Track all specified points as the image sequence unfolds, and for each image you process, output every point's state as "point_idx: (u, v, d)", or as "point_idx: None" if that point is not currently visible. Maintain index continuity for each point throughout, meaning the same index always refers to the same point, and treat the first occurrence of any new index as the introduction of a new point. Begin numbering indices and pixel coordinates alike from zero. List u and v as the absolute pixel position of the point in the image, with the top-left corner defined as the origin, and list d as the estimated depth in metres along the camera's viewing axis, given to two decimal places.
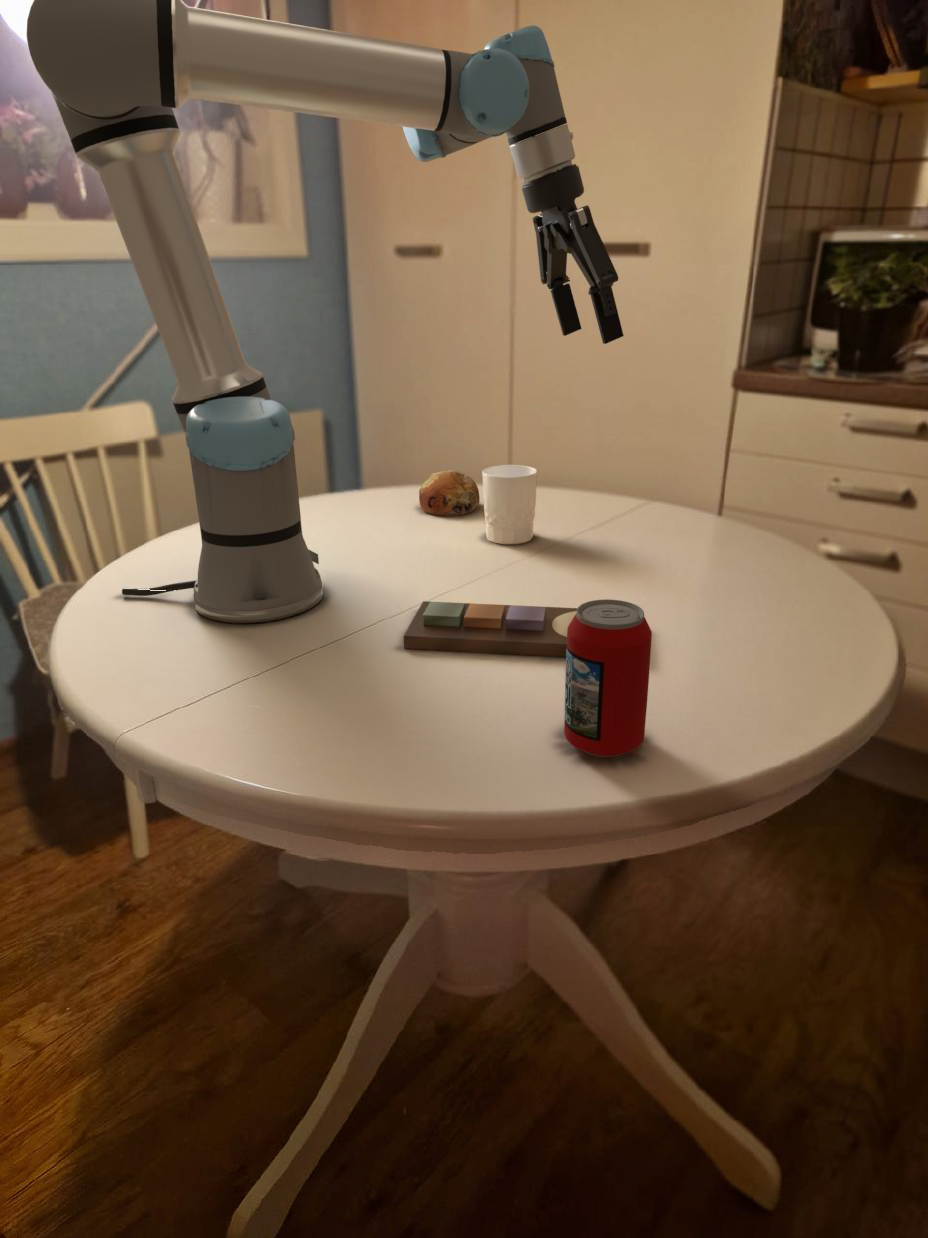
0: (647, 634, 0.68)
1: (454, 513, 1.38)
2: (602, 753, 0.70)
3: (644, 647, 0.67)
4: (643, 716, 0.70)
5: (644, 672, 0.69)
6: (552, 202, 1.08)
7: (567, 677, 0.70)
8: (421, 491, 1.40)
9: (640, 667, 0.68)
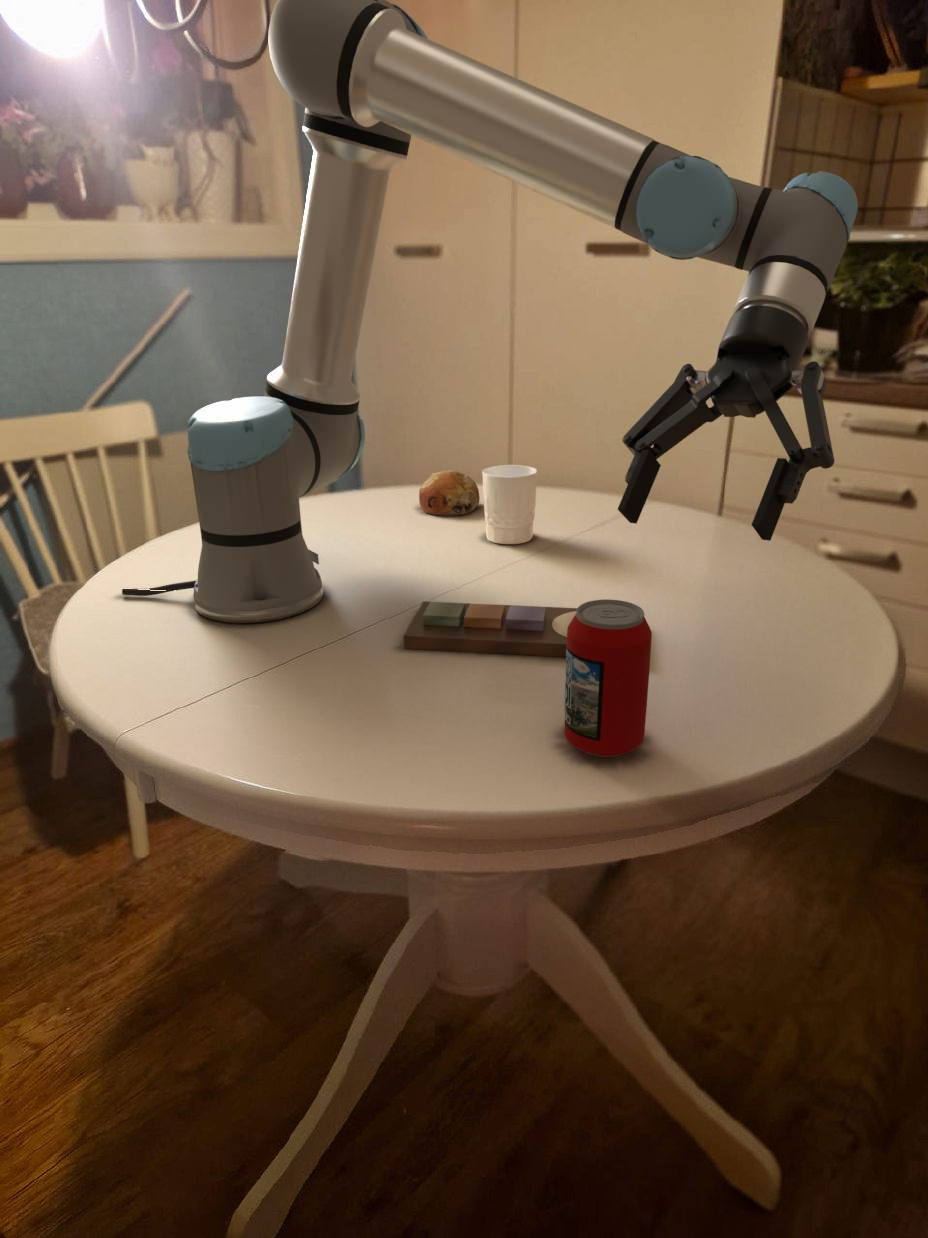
0: (647, 634, 0.68)
1: (454, 513, 1.38)
2: (602, 753, 0.70)
3: (644, 647, 0.67)
4: (643, 716, 0.70)
5: (644, 672, 0.69)
6: (785, 342, 0.78)
7: (567, 677, 0.70)
8: (421, 491, 1.40)
9: (640, 667, 0.68)
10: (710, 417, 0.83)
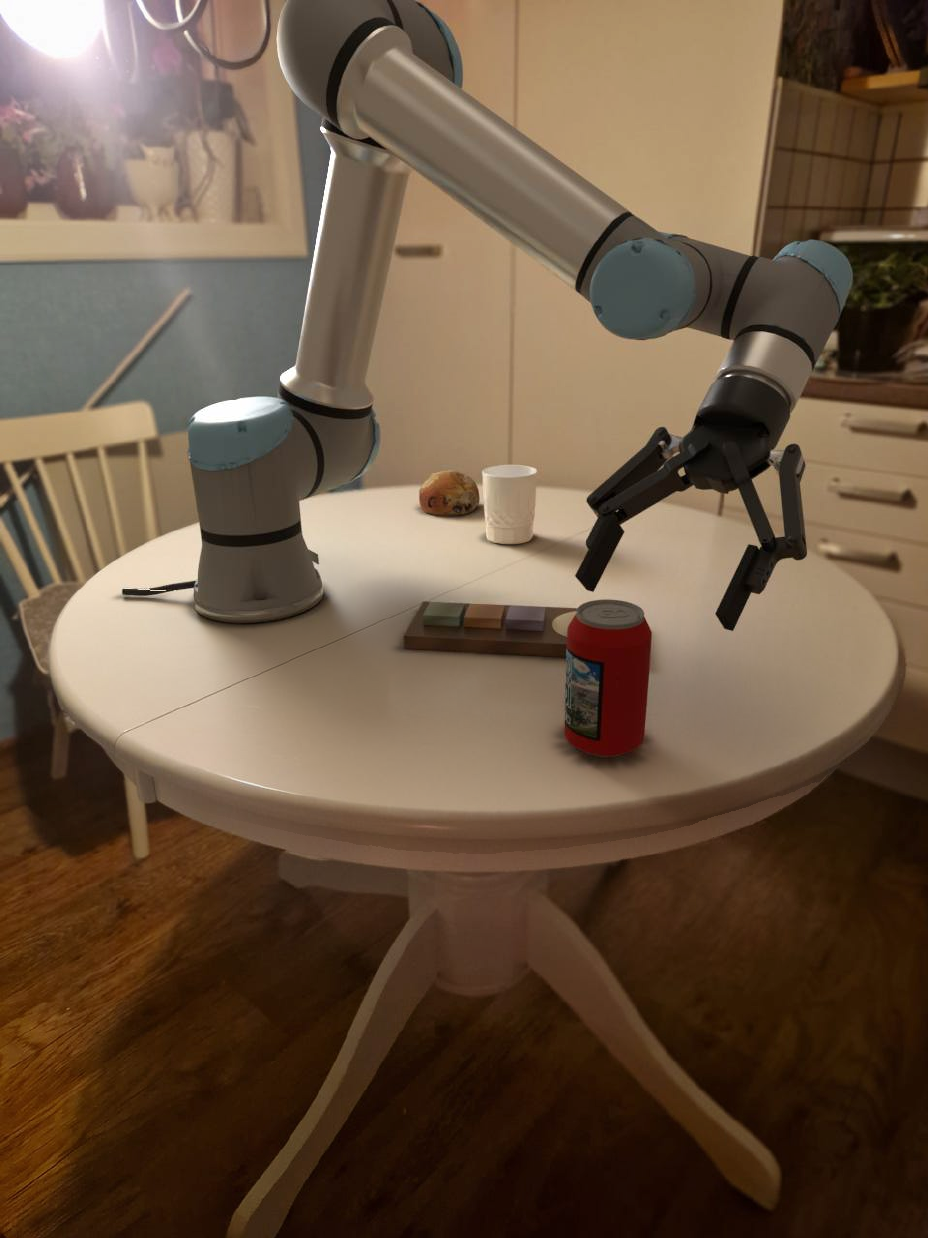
0: (647, 634, 0.68)
1: (454, 513, 1.38)
2: (602, 753, 0.70)
3: (644, 647, 0.67)
4: (643, 716, 0.70)
5: (644, 672, 0.69)
6: (766, 419, 0.73)
7: (567, 677, 0.70)
8: (421, 491, 1.40)
9: (640, 667, 0.68)
10: (681, 487, 0.78)
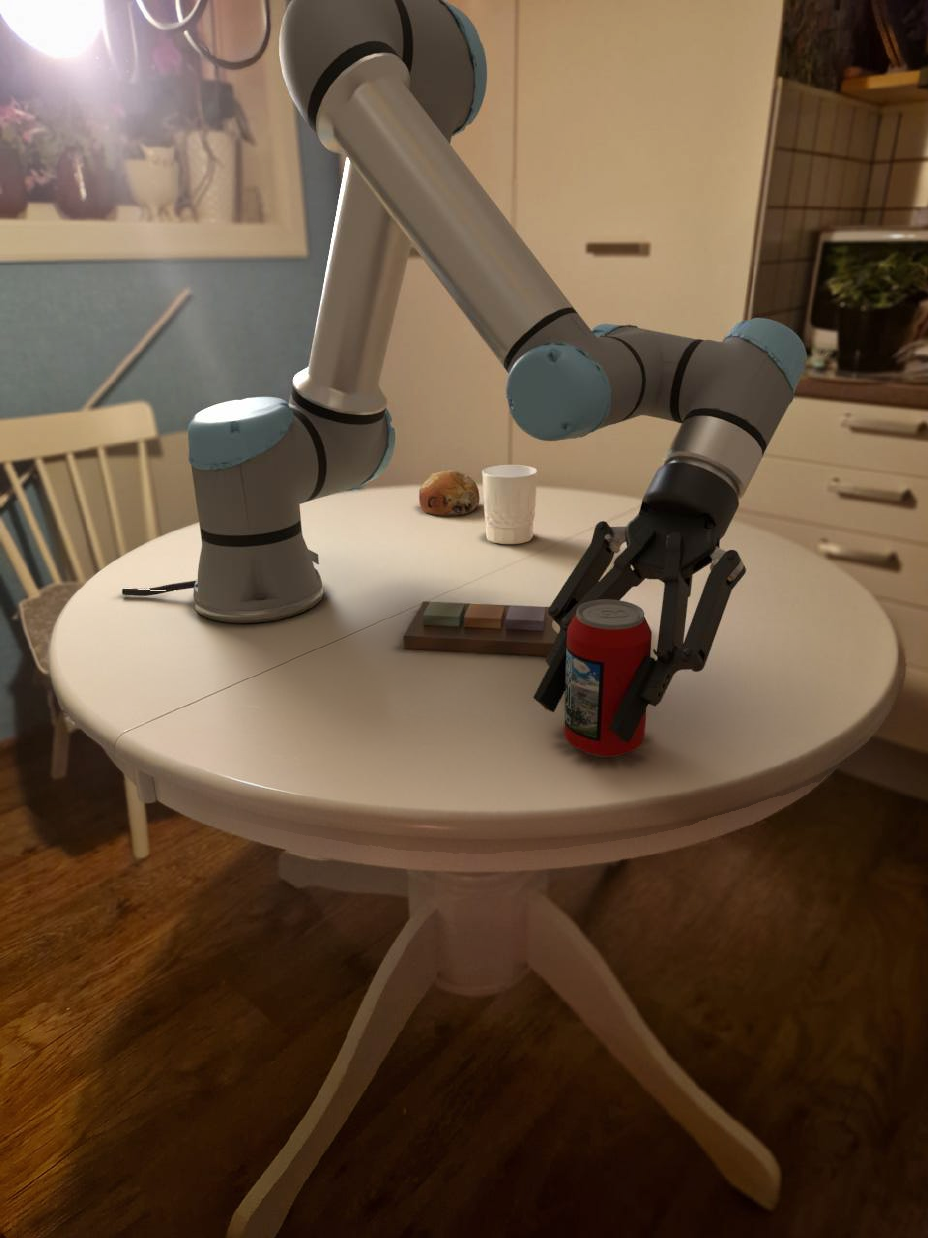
0: (647, 634, 0.68)
1: (454, 513, 1.38)
2: (602, 753, 0.70)
3: (644, 647, 0.67)
4: (643, 716, 0.70)
5: None
6: (712, 510, 0.70)
7: (567, 677, 0.70)
8: (421, 491, 1.40)
9: None
10: (635, 581, 0.74)
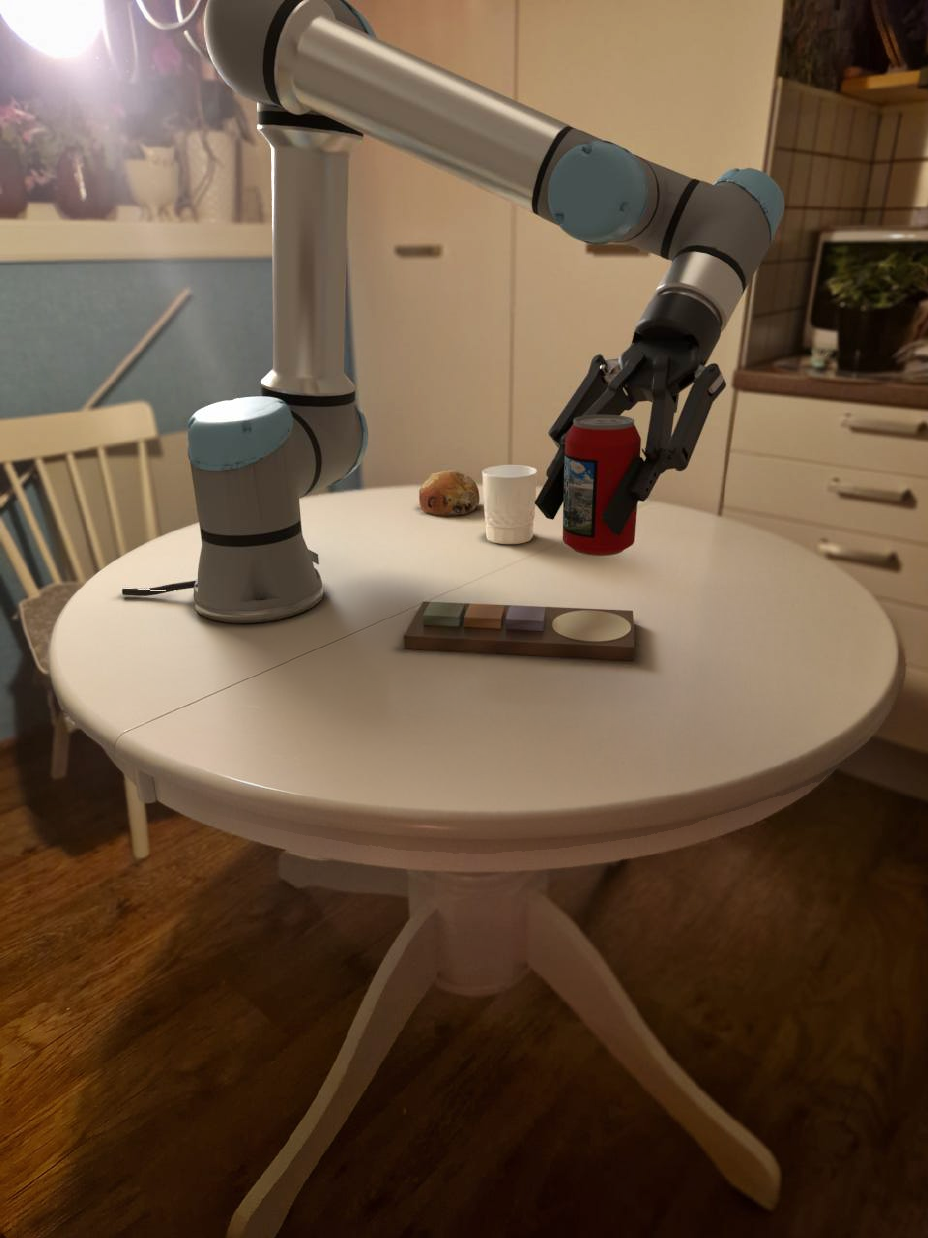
0: (636, 437, 0.76)
1: (454, 513, 1.38)
2: (596, 549, 0.78)
3: (633, 447, 0.75)
4: (633, 517, 0.78)
5: None
6: (696, 332, 0.78)
7: (565, 482, 0.78)
8: (421, 491, 1.40)
9: None
10: (627, 405, 0.82)
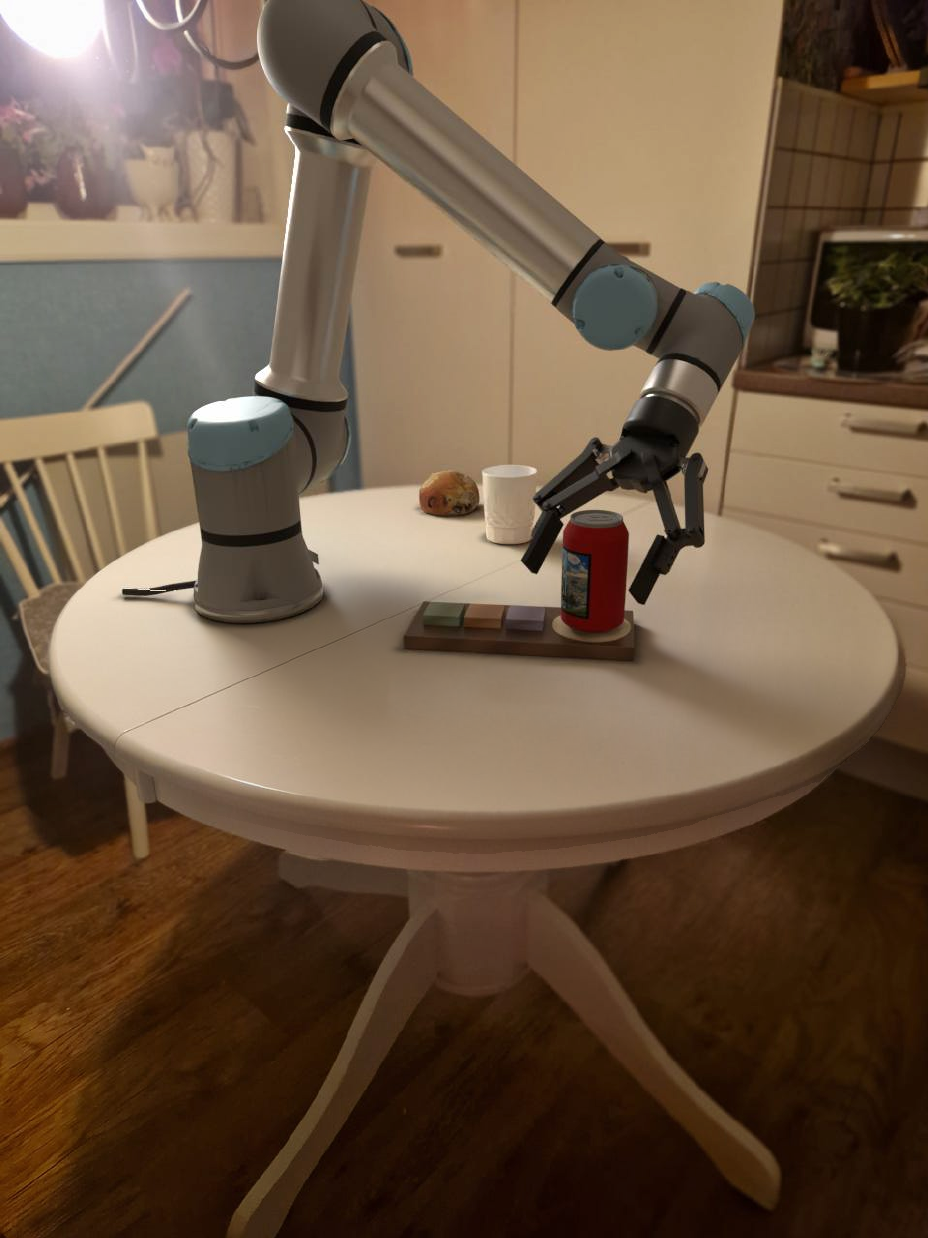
0: (625, 533, 0.87)
1: (454, 513, 1.38)
2: (590, 629, 0.89)
3: (622, 542, 0.87)
4: (622, 600, 0.90)
5: (623, 564, 0.88)
6: (676, 432, 0.89)
7: (563, 570, 0.90)
8: (421, 491, 1.40)
9: (620, 559, 0.87)
10: (610, 487, 0.94)
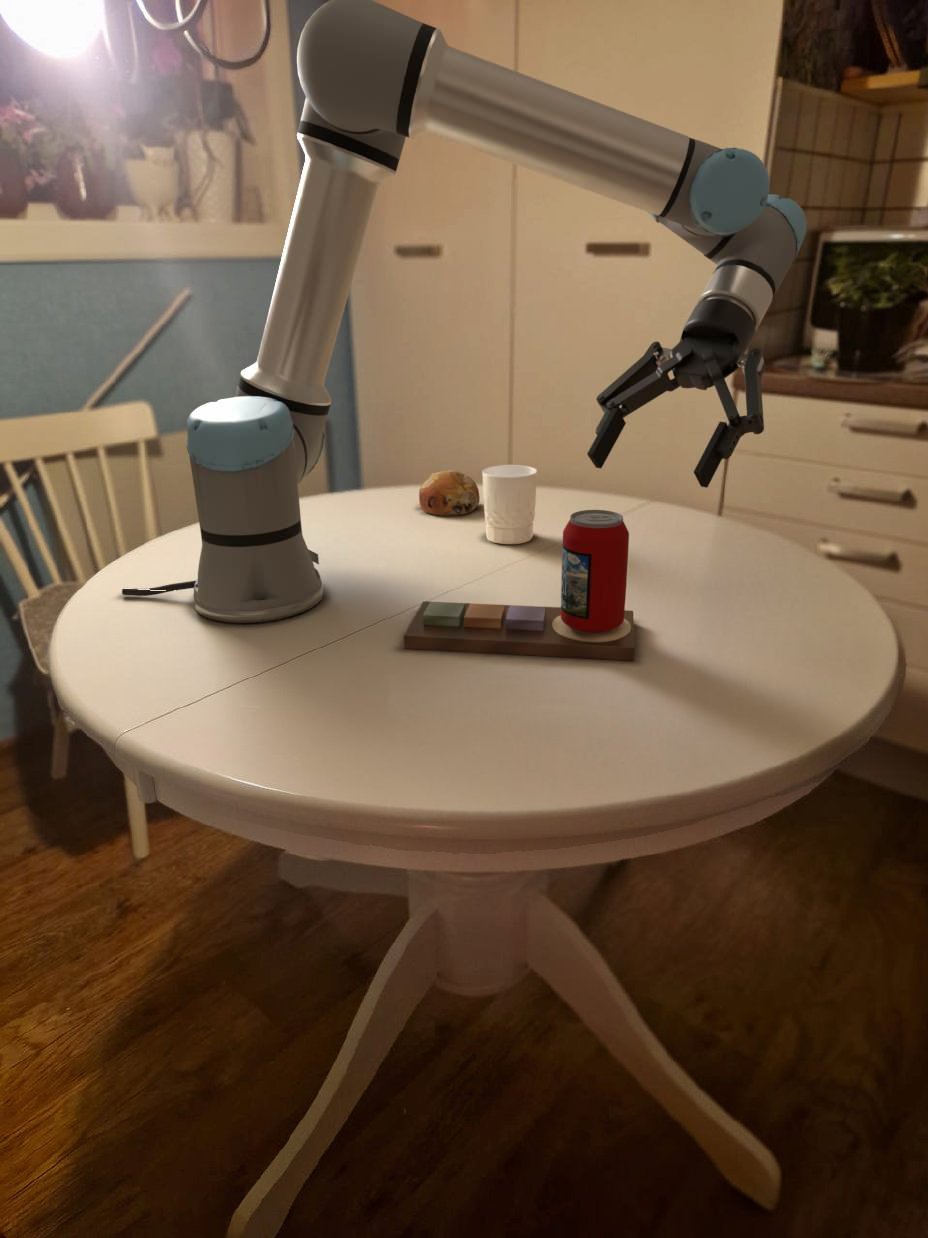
0: (625, 533, 0.87)
1: (454, 513, 1.38)
2: (590, 629, 0.89)
3: (622, 542, 0.87)
4: (622, 600, 0.90)
5: (623, 564, 0.88)
6: (735, 331, 0.95)
7: (563, 570, 0.90)
8: (421, 491, 1.40)
9: (620, 559, 0.87)
10: (670, 387, 1.00)
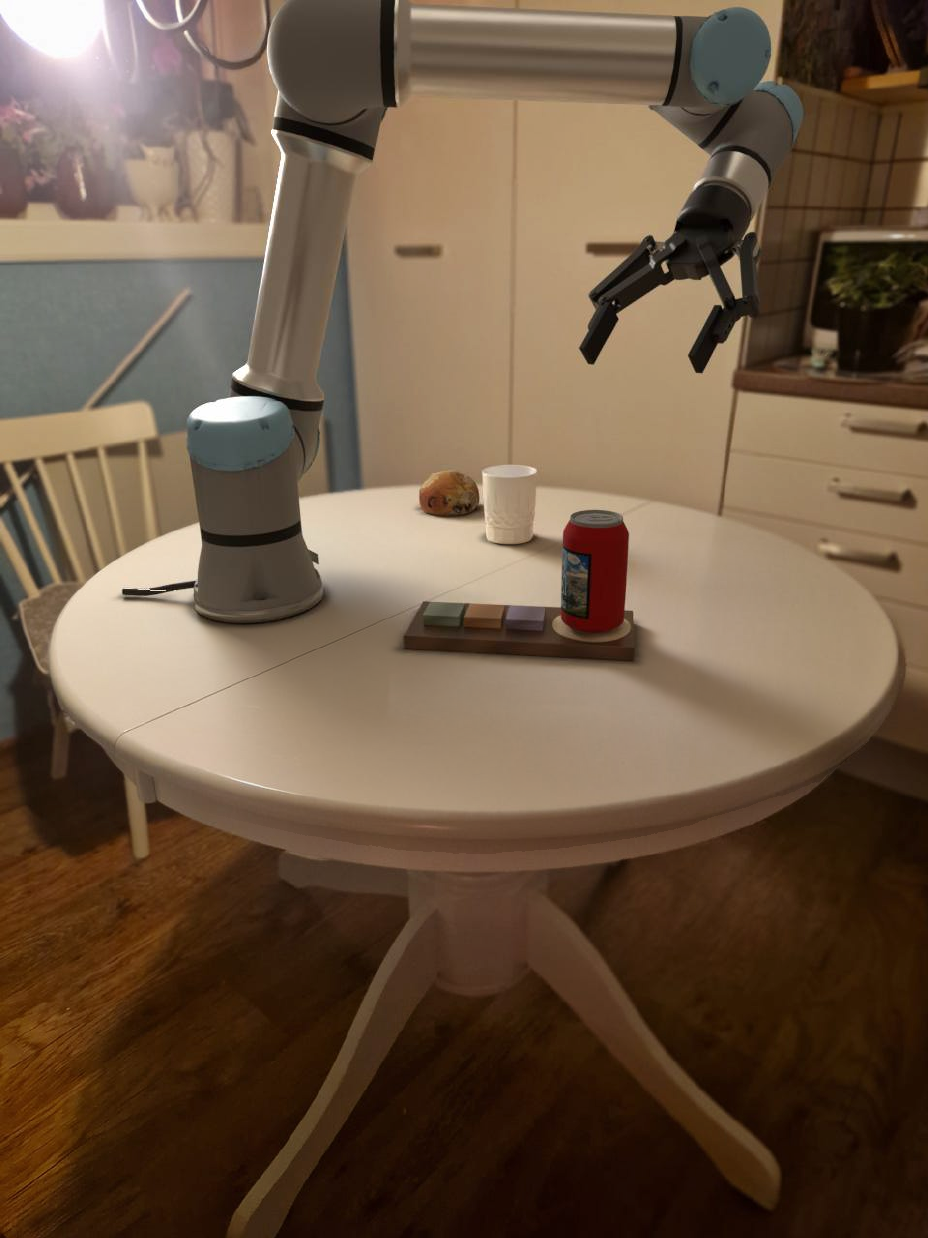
0: (625, 533, 0.87)
1: (454, 513, 1.38)
2: (590, 629, 0.89)
3: (622, 542, 0.87)
4: (622, 600, 0.90)
5: (623, 564, 0.88)
6: (730, 216, 0.93)
7: (563, 570, 0.90)
8: (421, 491, 1.40)
9: (620, 559, 0.87)
10: (664, 280, 0.97)
